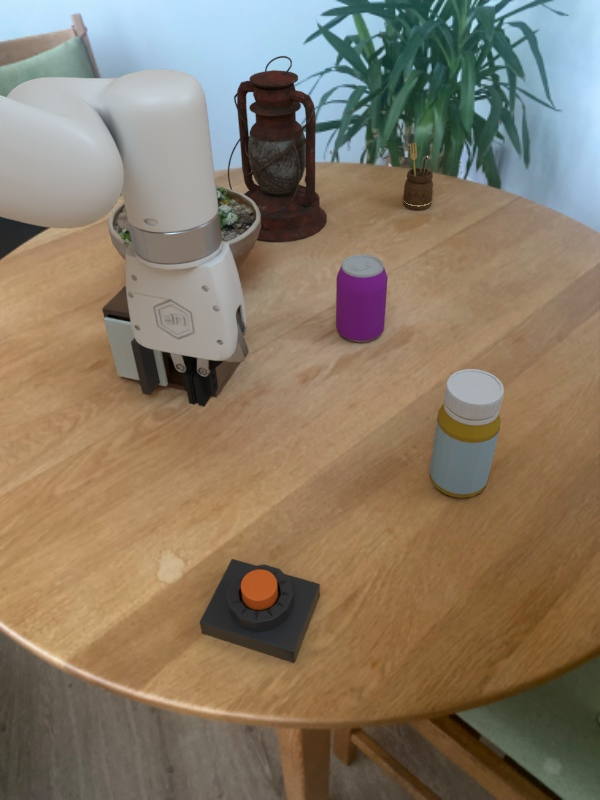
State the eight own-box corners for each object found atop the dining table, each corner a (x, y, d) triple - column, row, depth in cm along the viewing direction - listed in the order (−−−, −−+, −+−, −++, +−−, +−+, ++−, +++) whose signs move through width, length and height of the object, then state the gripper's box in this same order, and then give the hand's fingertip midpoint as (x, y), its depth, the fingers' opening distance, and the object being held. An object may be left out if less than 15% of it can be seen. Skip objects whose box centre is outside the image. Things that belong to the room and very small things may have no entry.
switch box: (201, 633, 68) (197, 612, 66) (233, 570, 74) (230, 548, 71) (294, 663, 66) (293, 642, 63) (320, 595, 71) (319, 573, 69)
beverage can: (372, 313, 111) (376, 248, 104) (391, 339, 106) (397, 272, 98) (329, 322, 110) (329, 256, 102) (345, 349, 104) (347, 281, 96)
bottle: (441, 452, 87) (456, 359, 77) (494, 471, 84) (516, 378, 74) (419, 487, 82) (432, 394, 73) (474, 509, 80) (495, 415, 70)
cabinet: (216, 397, 96) (207, 328, 88) (119, 376, 100) (101, 308, 93) (244, 357, 103) (237, 289, 95) (151, 338, 108) (138, 272, 100)
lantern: (215, 227, 136) (196, 67, 117) (269, 193, 148) (260, 42, 128) (293, 251, 128) (287, 83, 108) (344, 212, 140) (347, 55, 120)
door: (156, 399, 95) (143, 341, 88) (106, 388, 97) (91, 331, 90) (168, 384, 97) (157, 326, 91) (119, 373, 99) (105, 316, 93)
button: (236, 604, 67) (234, 594, 66) (250, 575, 69) (249, 565, 68) (270, 614, 66) (269, 605, 65) (283, 584, 68) (282, 574, 67)
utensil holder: (414, 213, 139) (419, 155, 131) (396, 202, 143) (400, 145, 135) (437, 206, 141) (443, 149, 133) (419, 196, 145) (424, 139, 137)
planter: (188, 237, 133) (177, 163, 123) (292, 272, 122) (289, 193, 112) (90, 296, 117) (69, 217, 108) (200, 342, 106) (187, 258, 97)
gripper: (75, 242, 56) (120, 406, 68) (242, 266, 53) (258, 435, 65) (120, 204, 62) (154, 362, 74) (274, 223, 58) (283, 387, 70)
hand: (202, 396), depth 69 cm, fingers closed
